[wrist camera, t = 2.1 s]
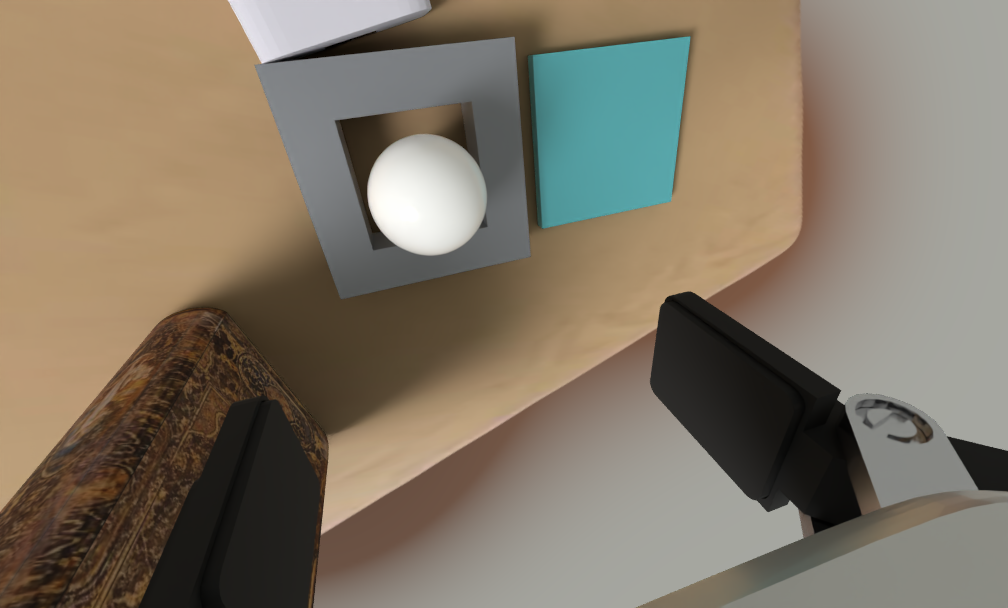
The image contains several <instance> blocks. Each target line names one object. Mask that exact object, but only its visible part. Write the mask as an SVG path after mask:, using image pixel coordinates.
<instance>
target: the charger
mask: <svg viewBox="0 0 1008 608" xmlns="http://www.w3.org/2000/svg"><path fill="white" fill-rule="evenodd" d="M228 1H229V3H230V5H231V7H232V9H233V10H234V12H235V14H236V16H237V18H238V20H239V22H240V23H241V25H242V27H243V29H244V31H245V33H246V35H247V37H248V38H249V40H250V42H251V44H252V46H253V48H254V50H255V51H256V53H257V55H258V57H259V59H260V61H261V63H262V64H268V63H277V62H286V61H291V60H295V59H298V58H301V57H304V56H307V55H310V54H313V53H316V52H319V51H322V50H325V47H328V46H331V45H334V44H337V43H340V42H343V41H346V40H349V39H352V38H355V37H358V36H361V35H364V34H367V33H370V32H373V31H376V33H377V32H380V31H383V30H386V29H389V28H392V27H395V26H398V25H401V24H404V23H406V22H409V21H412V20H415V19H418V18H420V17H423V16H425V15H426V14H427V13H428V12H429V11H430V10H431V9H432V7H431V4H430V1H429V0H228ZM373 34H374V33H373ZM370 35H371V34H370ZM330 48H331V47H330ZM327 49H328V48H327Z"/></svg>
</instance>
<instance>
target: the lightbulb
mask: <svg viewBox="0 0 1008 608" xmlns="http://www.w3.org/2000/svg"><path fill="white" fill-rule="evenodd" d="M367 196H368V204H369V208H370V211H371V214H372V217H373V219H374V221H375V223H376V224H377V226H378V228H379V229H380V230H381V232H382V233H383V234H384V235H385V236H386V237H387V238H388V239H389V240H390V241H391V242H392V243H394V244H395V245H397V246H398V247H400V248H402V249H404V250H406V251H408V252H411V253H414V254H418V255H425V256H435V255H442V254H446V253H449V252H452V251H454V250H456V249H458V248H460V247H461V246H463V245H464V244H465V243H467V242H468V241H469V240H470V239H471V238H472V237H473V236H474V234H475V233H476V232H477V230H478V229H479V227H480V225H481V223H482V221H483V218H484V215H485V212H486V207H487V189H486V184H485V180H484V177H483V174H482V172H481V170H480V168H479V166H478V164H477V163H476V161H475V160H474V158H473V157H472V156H471V155H470V154H469V153H468V152H467V151H466V150H465V149H464V148H463V147H461V146H460V145H459V144H457V143H456V142H454V141H452V140H450V139H448V138H445V137H442V136H438V135H433V134H415V135H410V136H407V137H404V138H401V139H399V140H397V141H396V142H394V143H392V144H391V145H390V146H388V147H387V148H386V149H385V150H384V151H383V152H382V153H381V154H380V156H379V157H378V158H377V160H376V162H375V163H374V165H373V167H372V170H371V173H370V176H369V180H368V187H367Z"/></svg>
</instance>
